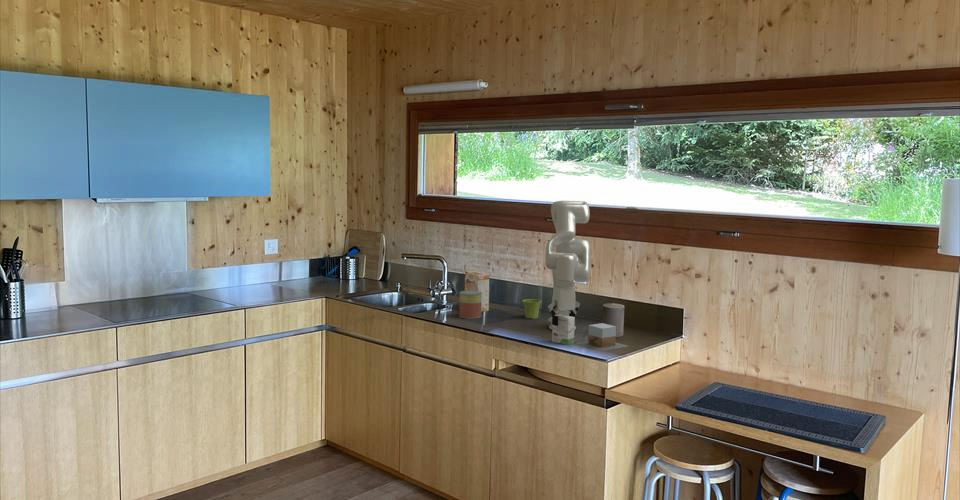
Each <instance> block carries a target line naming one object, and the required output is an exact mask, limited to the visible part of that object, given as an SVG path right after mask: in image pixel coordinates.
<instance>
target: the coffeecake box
mask: <svg viewBox="0 0 960 500" xmlns="http://www.w3.org/2000/svg"><path fill="white" fill-rule="evenodd" d="M464 291H479V292H482V298H481V313H482V312H488V311H489V310H490V309H489V308H490V306H489V305H490V304H489V303H490V274H489V273H487V272H484V271H483V272H482V271H479V270H476V269H475V270H465V271H464Z"/></svg>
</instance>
